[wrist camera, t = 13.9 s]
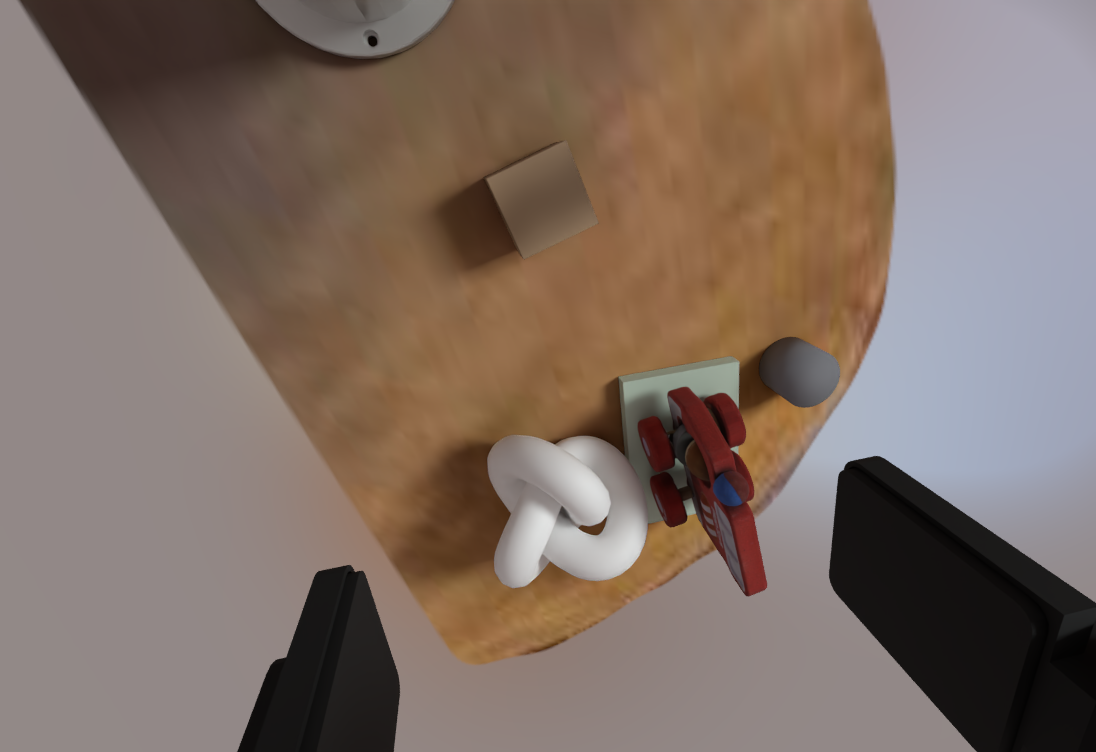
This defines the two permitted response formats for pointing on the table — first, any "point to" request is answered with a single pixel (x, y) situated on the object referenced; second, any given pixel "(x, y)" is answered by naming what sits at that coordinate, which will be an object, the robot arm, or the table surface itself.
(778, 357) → the grey rounded pebble
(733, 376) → the board
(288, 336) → the table surface
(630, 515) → the white knot
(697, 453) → the red wheeled piece
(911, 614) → the robot arm
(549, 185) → the walnut block
